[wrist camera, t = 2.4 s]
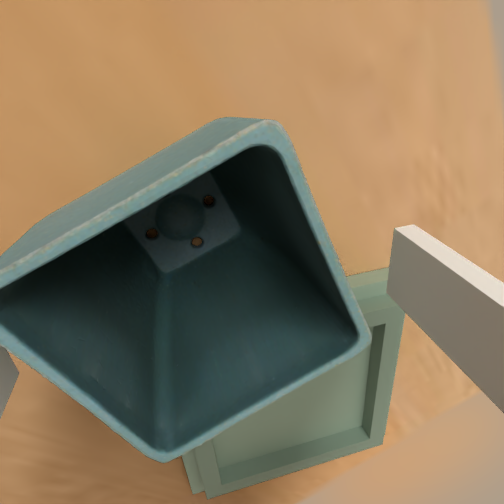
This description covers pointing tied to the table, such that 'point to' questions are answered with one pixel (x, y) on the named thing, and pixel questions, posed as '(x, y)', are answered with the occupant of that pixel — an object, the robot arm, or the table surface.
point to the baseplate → (312, 410)
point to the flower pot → (184, 290)
